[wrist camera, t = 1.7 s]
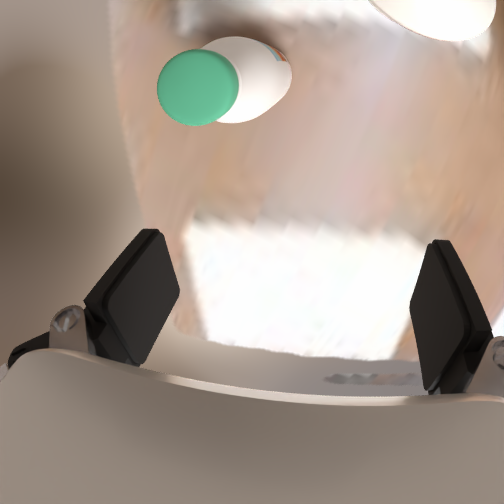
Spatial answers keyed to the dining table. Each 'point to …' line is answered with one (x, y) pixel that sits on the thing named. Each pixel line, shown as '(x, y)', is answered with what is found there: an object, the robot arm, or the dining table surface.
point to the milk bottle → (223, 82)
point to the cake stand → (440, 17)
